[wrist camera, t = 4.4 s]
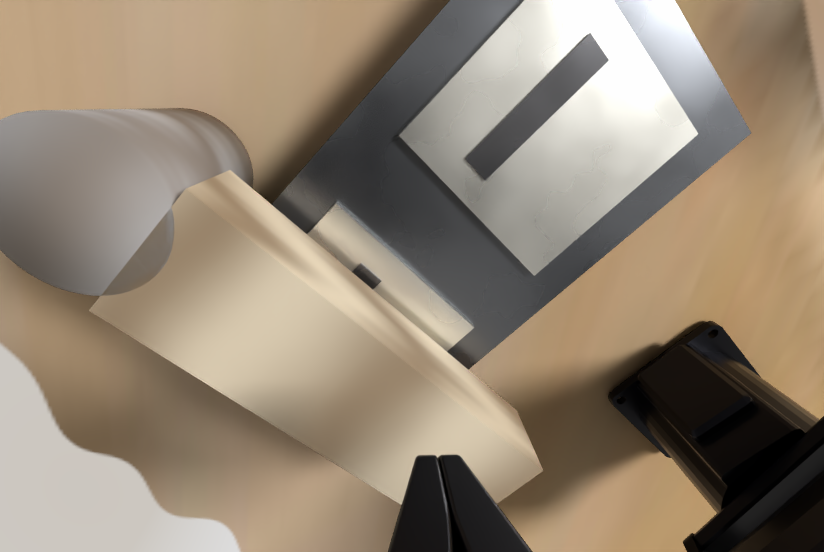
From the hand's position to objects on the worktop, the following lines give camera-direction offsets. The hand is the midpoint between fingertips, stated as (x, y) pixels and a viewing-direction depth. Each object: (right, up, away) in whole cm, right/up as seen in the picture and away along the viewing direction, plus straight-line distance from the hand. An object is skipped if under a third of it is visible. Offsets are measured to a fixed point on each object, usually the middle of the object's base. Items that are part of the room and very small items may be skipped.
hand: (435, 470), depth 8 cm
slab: (0, +6, +9) cm, 11 cm away
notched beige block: (-4, +4, +10) cm, 11 cm away
